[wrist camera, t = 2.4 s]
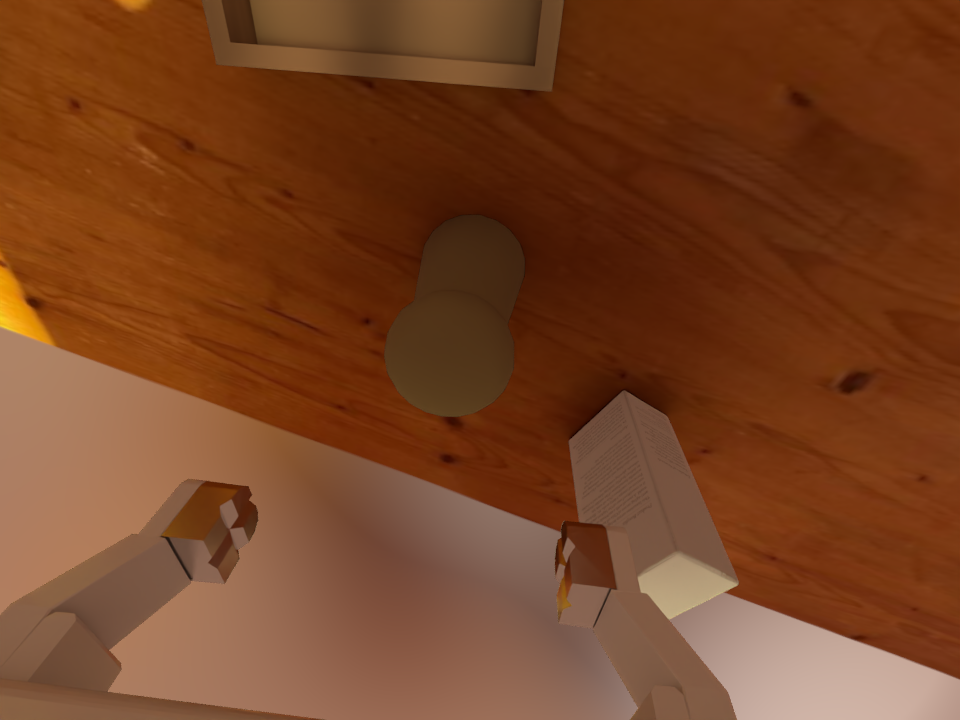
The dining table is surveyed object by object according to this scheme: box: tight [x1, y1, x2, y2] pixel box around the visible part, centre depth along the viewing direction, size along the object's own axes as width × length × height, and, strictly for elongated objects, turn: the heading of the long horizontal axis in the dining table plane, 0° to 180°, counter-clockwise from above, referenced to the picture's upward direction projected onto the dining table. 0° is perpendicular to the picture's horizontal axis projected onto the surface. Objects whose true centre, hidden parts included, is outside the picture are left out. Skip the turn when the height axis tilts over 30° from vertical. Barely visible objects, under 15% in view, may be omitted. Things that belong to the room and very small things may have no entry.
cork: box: [384, 215, 525, 417], centre depth 21 cm, size 6×6×11 cm
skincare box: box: [569, 390, 739, 620], centre depth 26 cm, size 6×4×12 cm
